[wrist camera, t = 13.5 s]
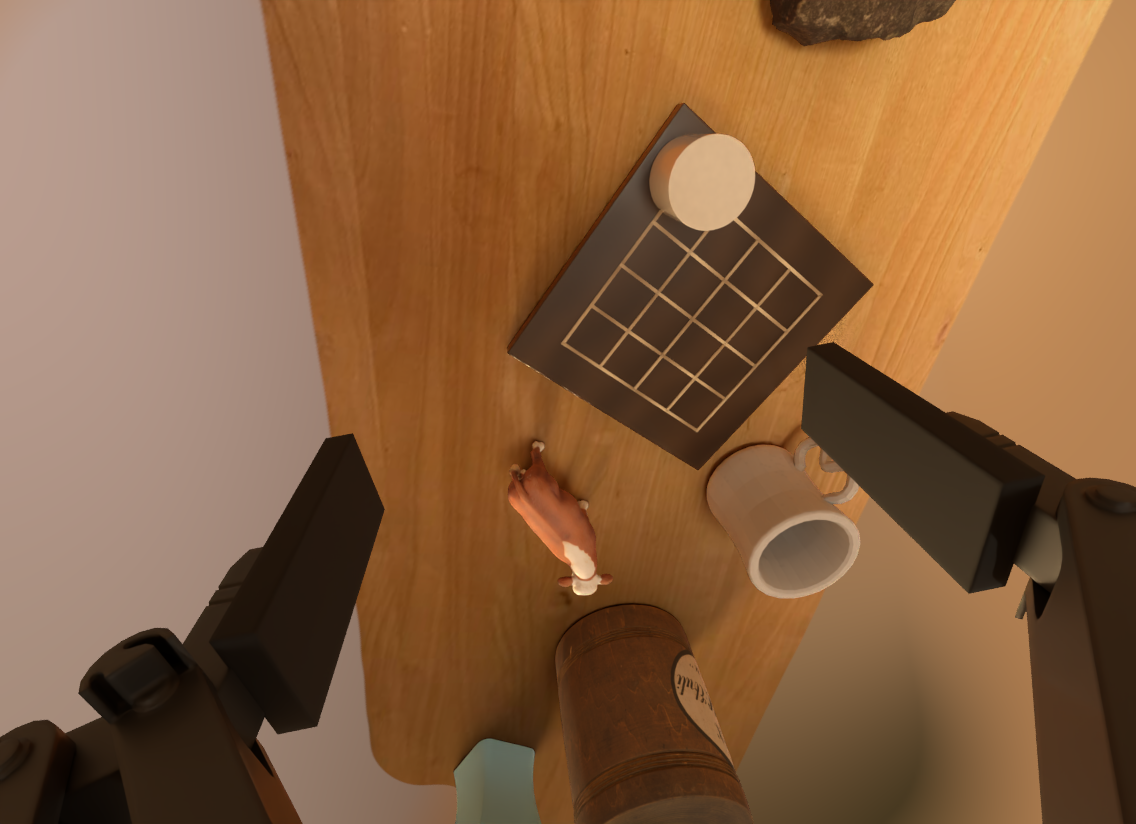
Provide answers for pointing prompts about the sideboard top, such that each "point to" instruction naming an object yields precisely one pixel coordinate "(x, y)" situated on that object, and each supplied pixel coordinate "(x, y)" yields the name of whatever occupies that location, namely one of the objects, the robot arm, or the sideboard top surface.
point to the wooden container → (642, 725)
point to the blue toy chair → (496, 785)
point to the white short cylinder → (702, 180)
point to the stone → (853, 18)
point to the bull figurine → (557, 522)
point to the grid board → (687, 310)
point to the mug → (784, 519)
